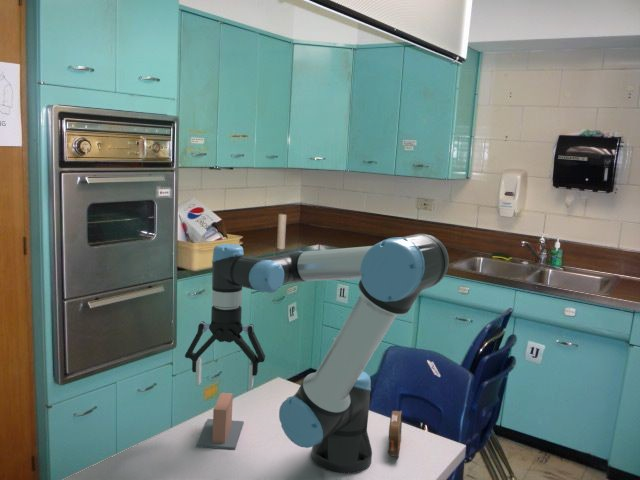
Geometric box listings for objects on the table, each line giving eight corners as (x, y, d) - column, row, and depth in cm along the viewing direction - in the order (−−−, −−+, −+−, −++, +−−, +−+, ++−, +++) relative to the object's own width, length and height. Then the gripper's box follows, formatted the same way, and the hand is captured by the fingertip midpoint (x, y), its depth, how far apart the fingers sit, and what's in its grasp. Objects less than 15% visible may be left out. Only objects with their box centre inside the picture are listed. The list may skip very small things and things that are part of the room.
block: (232, 393, 155) (226, 410, 145) (231, 424, 156) (224, 443, 146) (221, 392, 155) (213, 409, 145) (219, 423, 156) (212, 442, 146)
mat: (243, 423, 159) (243, 421, 159) (235, 449, 145) (235, 447, 145) (207, 420, 159) (207, 418, 159) (195, 446, 145) (195, 444, 145)
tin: (397, 463, 144) (400, 432, 142) (385, 461, 144) (388, 430, 143) (401, 434, 158) (404, 406, 157) (390, 432, 159) (392, 404, 157)
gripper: (277, 304, 148) (274, 382, 151) (181, 299, 148) (180, 377, 152) (274, 312, 141) (271, 394, 144) (173, 306, 141) (172, 388, 144)
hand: (224, 385), depth 148 cm, fingers open, 13 cm apart
